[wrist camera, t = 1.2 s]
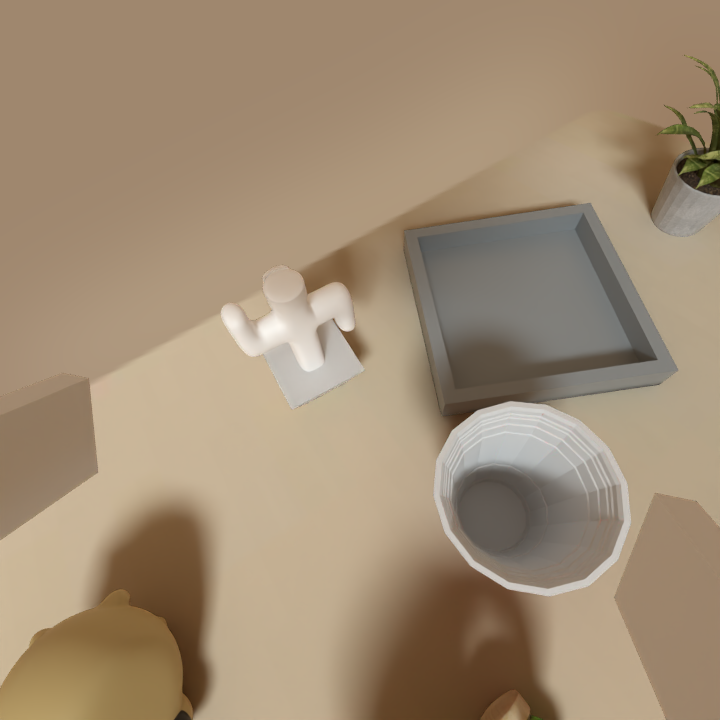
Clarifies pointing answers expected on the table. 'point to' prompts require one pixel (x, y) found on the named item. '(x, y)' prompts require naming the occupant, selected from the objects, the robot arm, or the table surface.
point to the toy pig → (99, 669)
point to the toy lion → (509, 708)
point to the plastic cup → (532, 498)
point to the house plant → (691, 178)
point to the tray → (530, 310)
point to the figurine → (299, 335)
